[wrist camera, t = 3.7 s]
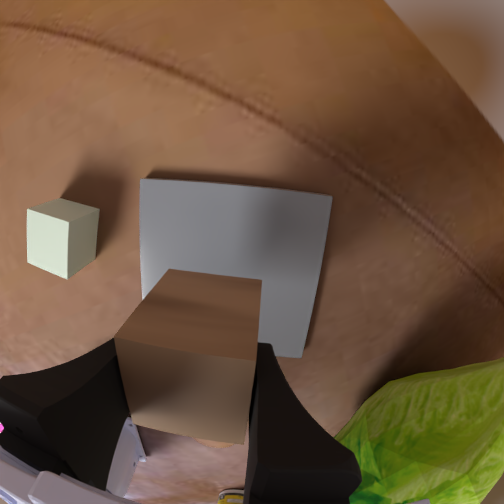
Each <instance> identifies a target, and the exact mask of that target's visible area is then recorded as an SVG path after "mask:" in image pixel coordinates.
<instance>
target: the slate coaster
mask: <svg viewBox="0 0 504 504" xmlns="http://www.w3.org/2000/svg"><path fill="white" fill-rule="evenodd" d="M332 198H333V197H332V196H331V195H327V194H320V193H313V192H305V191H298V190H290V189H281V188H273V187H263V186H254V185H244V184H233V183H222V182H209V181H196V180H180V179H163V178H142V179H140V263H141V283H142V298H143V299H144V298H145V297H146V296H147V294H148V293H149V292H150V291H151V290H152V288H153V287H154V286H155V285H156V284H157V282H158V281H159V280H160V279H161V277H162V276H163V275H164V274H165V273H166V272H167V270H168V269H176V270H184V271H192V272H200V273H208V274H216V275H225V276H233V277H242V278H251V279H260V280H262V288H261V303H260V317H259V331H258V342H261V343H270V344H271V345H272V346H273V350H274V354H275V356H279V357H291V358H302V353H303V349H304V345H305V341H306V337H307V332H308V328H309V323H310V319H311V314H312V310H313V305H314V300H315V295H316V290H317V285H318V280H319V275H320V270H321V264H322V259H323V254H324V248H325V242H326V236H327V230H328V224H329V218H330V212H331V205H332Z"/></svg>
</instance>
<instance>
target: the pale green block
mask: <svg viewBox="0 0 504 504" xmlns="http://www.w3.org/2000/svg"><path fill="white" fill-rule="evenodd" d="M99 211H100V209H98V208H94V207H91V206H87V205H83V204H80V203H76V202H73V201H69V200H65V199H62V198H58V199H55V200H52V201H49V202H46V203H43V204H40V205H37V206H34V207H31V208H28V209H27V258H28V263H30V264H32V265H35V266H37V267H39V268H41V269H44V270H46V271H48V272H51V273H53V274H55V275H58V276H60V277H63V278H65V279H69V278H70V277H71V276H73V275H74V274H75V273H77V272H78V271H80V270H81V269H82V268H84V267H85V266H86V265H88V264H89V263H91V262H92V261H93V260H95V256H96V242H97V230H98V220H99Z"/></svg>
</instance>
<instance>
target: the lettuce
mask: <svg viewBox="0 0 504 504" xmlns="http://www.w3.org/2000/svg"><path fill="white" fill-rule="evenodd" d="M334 439H335V440H337V441H338V442H340V443H341V444H342V445H344V446H345V447H347V448H348V449H349V450H351V451H352V452H354V454H355V456H356V459H357V461H358V464H359V467H360V470H361V475H362V482H361V484H360V485H359V487H358V488H357V489H356V490H355V491H354V492H353V493H352V495H351V496H350V497H349V501H350V504H408V503H412V502H416V501H420V500H423V499H429V501H430V504H480V503H481V502H482V501H483V499H484V498H485V496H486V495H487V494H488V492H489V491H490V490H491V489H492V487H493V486H494V485H495V484H496V482H497V481H498V480H499V478H500V477H501V476H502V474H503V472H504V357H502V358H499V359H497V360H493V361H488V362H482V363H475V364H470V365H466V366H462V367H458V368H453V369H448V370H440V371H433V372H425V373H417V374H414V375H411V376H407V377H404V378H400V379H397V380H393V381H389V382H388V383H386V384H385V385H384V386H383V387H382V388H380V389H379V390H378V391H377V392H376V393H374V394H373V395H372V396H371V397H369V398H368V399H367V400H366V401H365V402H364V403H363V404H362V406H361V407H360V408H359V409H358V410H357V412H356V413H355V414H354V415H353V417H352V418H351V419H350V421H349V422H348V423H347V424H346V425H345V426H344V427H343V428H342V429H341V431H340V432H339V433H338V434H337V435H336V436H335V437H334Z"/></svg>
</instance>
